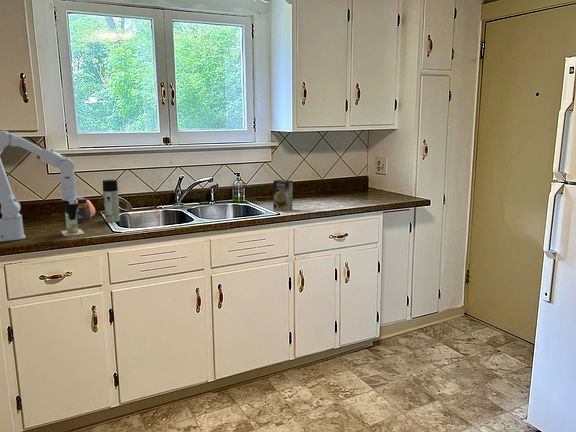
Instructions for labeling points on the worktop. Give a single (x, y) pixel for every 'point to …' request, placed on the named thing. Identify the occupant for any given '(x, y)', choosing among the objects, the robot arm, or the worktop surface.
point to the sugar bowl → (92, 209)
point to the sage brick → (70, 220)
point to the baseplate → (72, 233)
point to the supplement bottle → (83, 211)
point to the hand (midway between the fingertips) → (71, 218)
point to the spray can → (111, 200)
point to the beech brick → (72, 228)
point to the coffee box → (282, 195)
